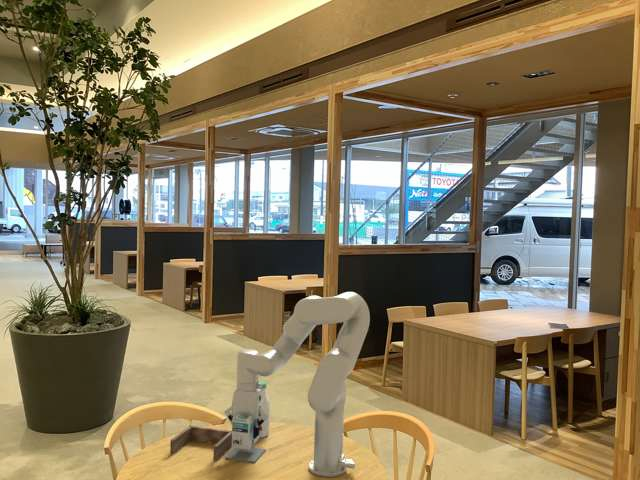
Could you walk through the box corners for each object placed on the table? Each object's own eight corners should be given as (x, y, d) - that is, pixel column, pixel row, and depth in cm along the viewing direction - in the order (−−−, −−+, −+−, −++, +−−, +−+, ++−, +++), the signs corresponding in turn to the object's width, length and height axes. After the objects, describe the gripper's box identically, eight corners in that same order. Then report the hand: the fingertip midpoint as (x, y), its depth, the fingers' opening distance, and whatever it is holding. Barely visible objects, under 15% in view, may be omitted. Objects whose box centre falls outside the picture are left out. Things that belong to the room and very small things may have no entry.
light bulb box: (249, 450, 199) (250, 419, 198) (230, 448, 200) (231, 417, 200) (259, 438, 210) (260, 409, 209) (241, 436, 211) (242, 406, 210)
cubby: (233, 444, 213) (233, 431, 213) (216, 461, 199) (217, 446, 199) (189, 438, 218) (190, 425, 217) (170, 454, 203) (170, 440, 203)
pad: (265, 450, 209) (265, 448, 209) (254, 463, 198) (254, 461, 198) (236, 446, 212) (236, 444, 212) (224, 458, 201) (224, 457, 201)
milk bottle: (261, 429, 229) (263, 378, 228) (273, 435, 223) (274, 383, 222) (244, 433, 224) (246, 381, 223) (256, 439, 218) (257, 387, 218)
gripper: (274, 385, 205) (272, 435, 206) (228, 379, 210) (226, 428, 210) (267, 391, 198) (265, 443, 199) (219, 385, 202) (218, 436, 203)
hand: (245, 435), depth 205 cm, fingers closed on light bulb box, 6 cm apart
